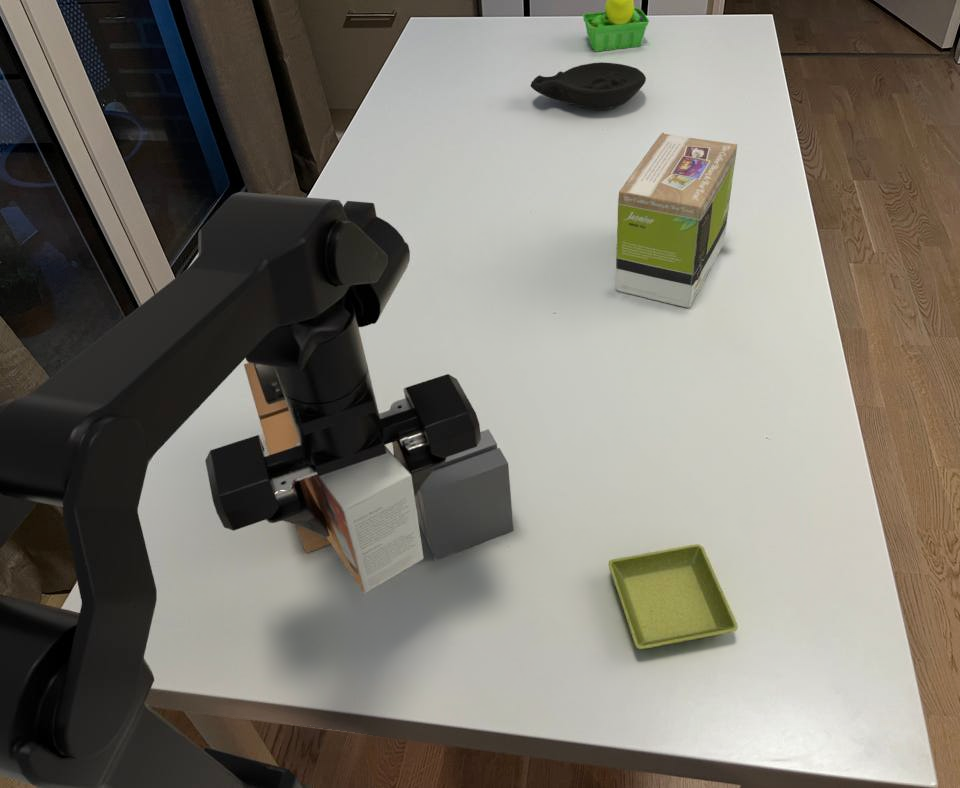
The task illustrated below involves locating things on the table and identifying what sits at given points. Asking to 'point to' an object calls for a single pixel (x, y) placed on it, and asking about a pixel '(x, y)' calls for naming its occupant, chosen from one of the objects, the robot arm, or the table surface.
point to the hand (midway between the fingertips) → (365, 518)
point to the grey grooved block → (466, 499)
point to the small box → (370, 518)
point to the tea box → (673, 218)
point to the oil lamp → (592, 85)
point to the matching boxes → (280, 442)
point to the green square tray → (671, 596)
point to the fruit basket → (616, 26)
